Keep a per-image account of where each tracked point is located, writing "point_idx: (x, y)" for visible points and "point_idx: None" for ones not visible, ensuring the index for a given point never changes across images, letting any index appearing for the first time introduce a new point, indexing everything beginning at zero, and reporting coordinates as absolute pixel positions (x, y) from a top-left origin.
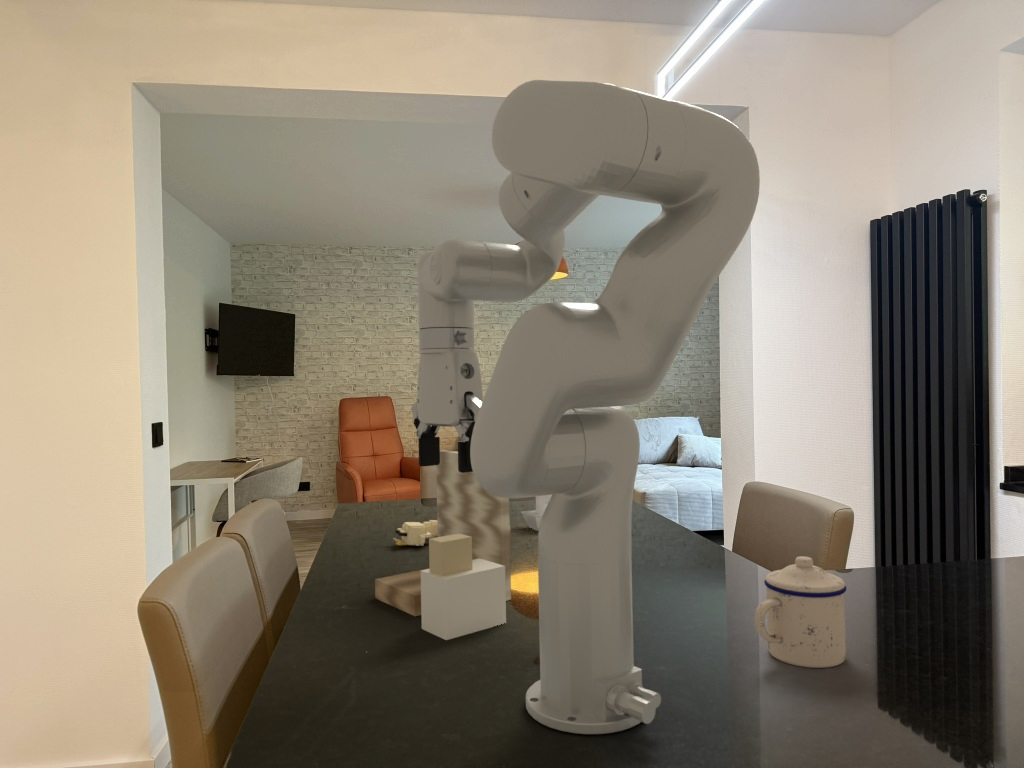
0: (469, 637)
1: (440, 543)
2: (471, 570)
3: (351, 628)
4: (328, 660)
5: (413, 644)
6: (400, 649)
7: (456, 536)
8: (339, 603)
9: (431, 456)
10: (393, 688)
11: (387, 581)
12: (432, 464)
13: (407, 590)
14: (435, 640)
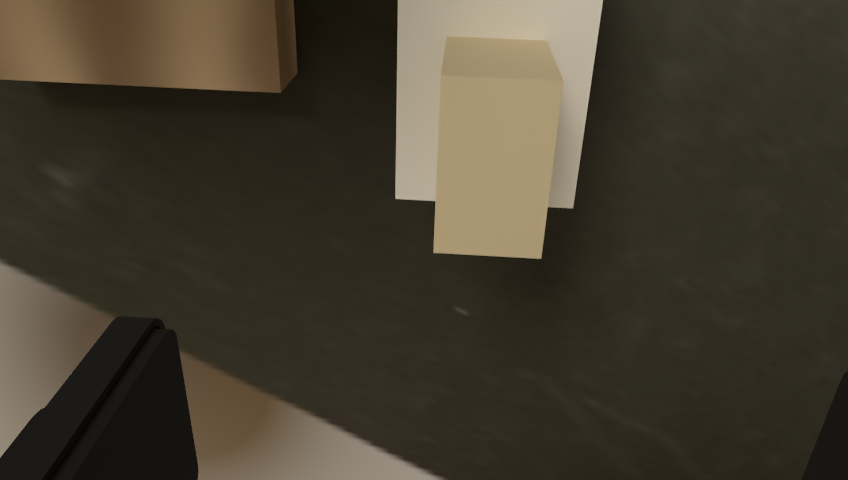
0: None
1: (534, 255)
2: (553, 51)
3: (274, 256)
4: (447, 386)
5: None
6: None
7: (491, 132)
8: (20, 171)
9: (156, 465)
10: (691, 373)
11: (39, 60)
12: (186, 397)
13: (202, 75)
14: None
